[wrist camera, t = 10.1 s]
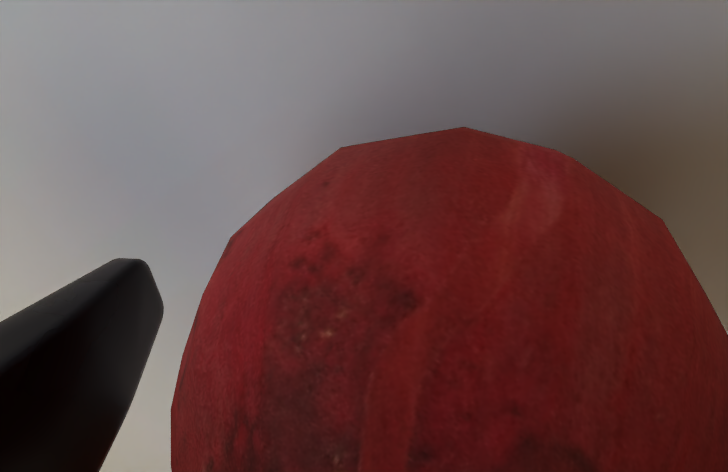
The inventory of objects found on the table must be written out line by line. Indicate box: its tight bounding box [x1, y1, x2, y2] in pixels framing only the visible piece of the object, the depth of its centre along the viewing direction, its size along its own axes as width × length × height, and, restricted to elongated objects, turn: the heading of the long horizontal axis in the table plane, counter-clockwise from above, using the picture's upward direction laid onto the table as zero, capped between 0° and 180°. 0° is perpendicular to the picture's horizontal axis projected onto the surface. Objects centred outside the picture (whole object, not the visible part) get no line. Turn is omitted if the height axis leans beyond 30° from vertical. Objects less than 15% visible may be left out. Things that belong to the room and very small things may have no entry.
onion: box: [171, 127, 728, 472], centre depth 7 cm, size 6×6×8 cm
